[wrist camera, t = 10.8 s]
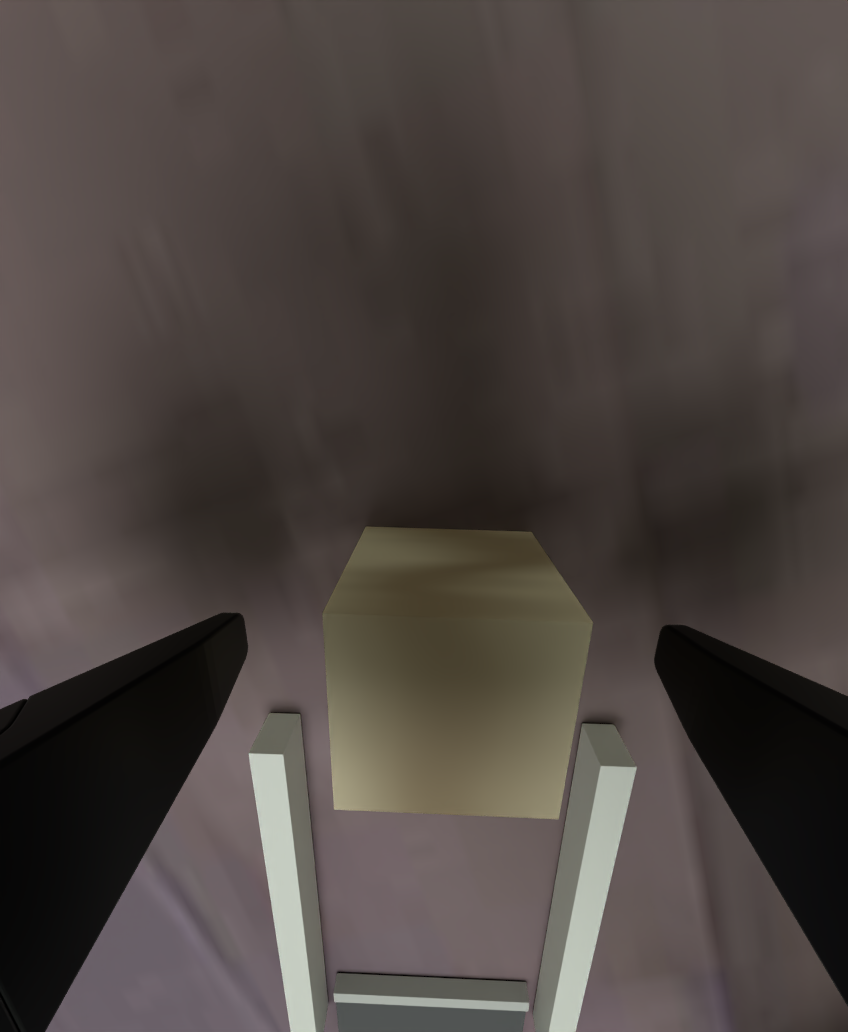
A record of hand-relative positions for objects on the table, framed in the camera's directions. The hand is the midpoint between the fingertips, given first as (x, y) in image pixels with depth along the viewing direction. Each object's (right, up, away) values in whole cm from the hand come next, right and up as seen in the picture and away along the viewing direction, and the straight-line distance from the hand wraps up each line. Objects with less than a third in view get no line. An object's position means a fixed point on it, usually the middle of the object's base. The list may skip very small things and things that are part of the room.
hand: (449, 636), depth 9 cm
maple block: (0, 0, +3) cm, 3 cm away
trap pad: (0, -19, +9) cm, 21 cm away
